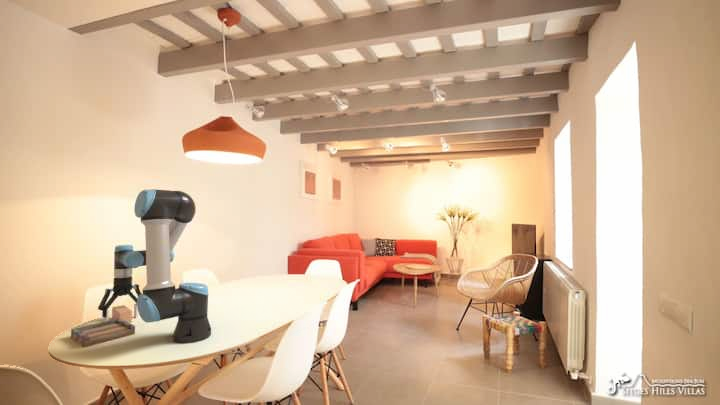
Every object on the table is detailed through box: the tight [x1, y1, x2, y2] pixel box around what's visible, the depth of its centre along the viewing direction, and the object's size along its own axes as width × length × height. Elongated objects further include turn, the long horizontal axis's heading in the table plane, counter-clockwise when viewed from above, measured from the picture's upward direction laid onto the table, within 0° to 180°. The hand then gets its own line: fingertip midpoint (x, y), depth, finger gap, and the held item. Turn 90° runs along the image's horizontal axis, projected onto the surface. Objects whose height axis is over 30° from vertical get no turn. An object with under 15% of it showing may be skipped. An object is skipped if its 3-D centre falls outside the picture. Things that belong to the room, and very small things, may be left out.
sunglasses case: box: [111, 304, 133, 324], centre depth 168 cm, size 13×5×6 cm, turn 49°
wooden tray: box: [70, 319, 136, 348], centre depth 148 cm, size 16×18×4 cm
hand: (121, 320), depth 168 cm, fingers open, 12 cm apart
